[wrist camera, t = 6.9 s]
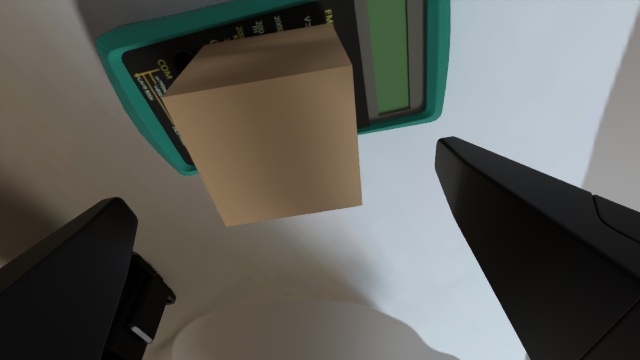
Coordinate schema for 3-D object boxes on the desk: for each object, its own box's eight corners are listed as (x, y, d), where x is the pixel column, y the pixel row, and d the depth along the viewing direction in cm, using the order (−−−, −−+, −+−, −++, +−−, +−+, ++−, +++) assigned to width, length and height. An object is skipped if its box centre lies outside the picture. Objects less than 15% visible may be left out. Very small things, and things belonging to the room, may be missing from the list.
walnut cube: (243, 151, 15) (226, 226, 11) (204, 45, 12) (160, 97, 8) (343, 135, 15) (362, 205, 11) (331, 22, 12) (352, 65, 8)
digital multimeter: (104, 28, 14) (66, 46, 11) (431, -62, 12) (463, -61, 10) (184, 156, 18) (169, 188, 16) (429, 100, 17) (450, 125, 15)
